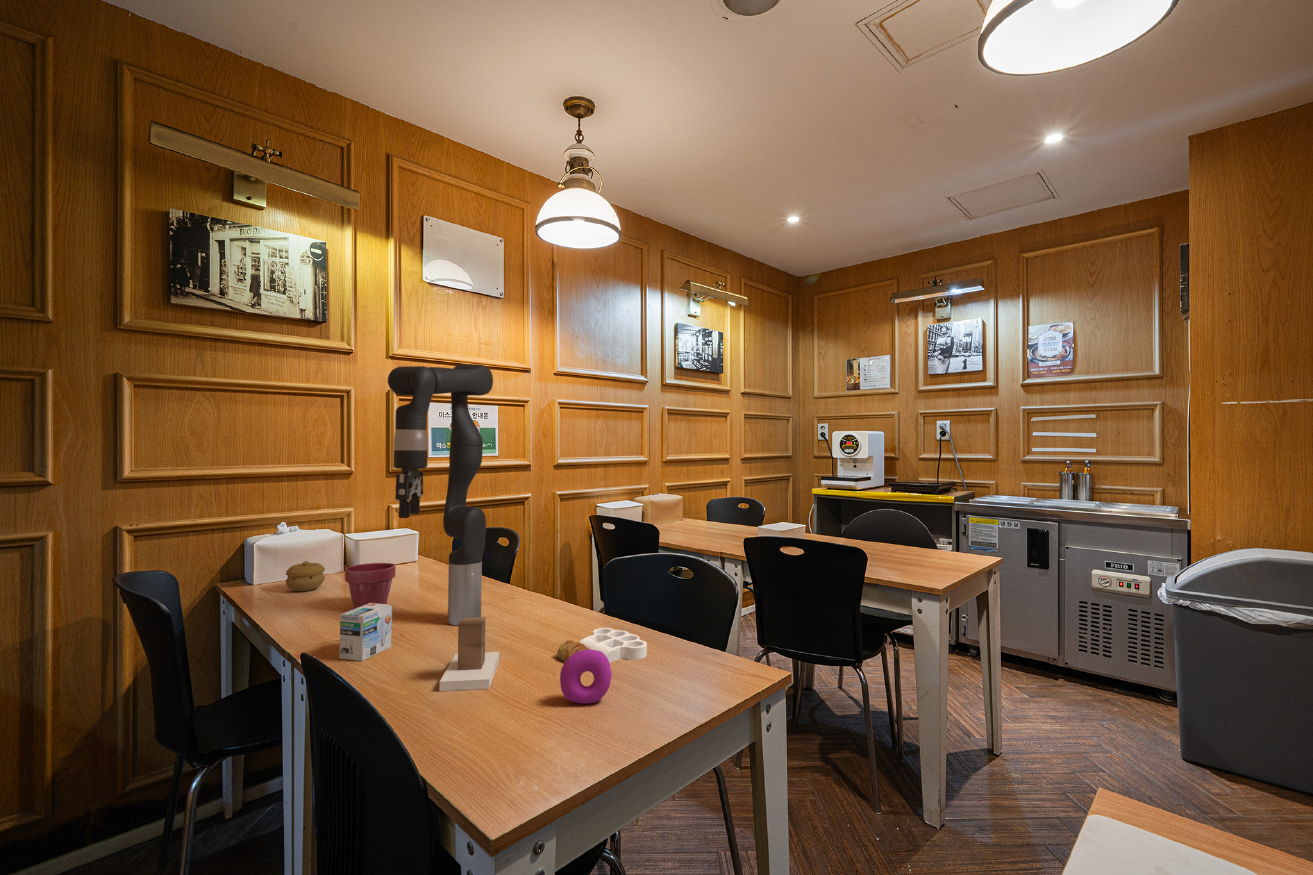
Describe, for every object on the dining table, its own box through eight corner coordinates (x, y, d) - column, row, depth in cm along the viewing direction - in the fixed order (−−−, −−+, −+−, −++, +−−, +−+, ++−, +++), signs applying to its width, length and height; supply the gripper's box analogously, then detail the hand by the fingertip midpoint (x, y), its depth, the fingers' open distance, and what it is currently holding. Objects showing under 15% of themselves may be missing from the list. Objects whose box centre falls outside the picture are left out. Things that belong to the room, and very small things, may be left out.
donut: (591, 714, 107) (591, 661, 108) (554, 702, 112) (555, 652, 112) (615, 698, 114) (616, 649, 114) (580, 688, 119) (580, 640, 119)
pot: (276, 593, 193) (277, 563, 193) (303, 585, 204) (304, 557, 204) (306, 595, 191) (307, 565, 191) (332, 586, 202) (332, 558, 202)
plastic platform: (455, 662, 133) (455, 653, 133) (499, 660, 134) (499, 651, 134) (439, 691, 117) (439, 681, 117) (489, 688, 118) (489, 679, 118)
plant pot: (364, 600, 185) (365, 561, 185) (404, 602, 183) (404, 562, 183) (333, 612, 171) (334, 570, 171) (376, 615, 169) (377, 572, 169)
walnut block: (462, 661, 128) (462, 617, 128) (484, 660, 128) (485, 616, 129) (457, 670, 123) (458, 624, 123) (481, 669, 123) (481, 623, 124)
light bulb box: (362, 661, 132) (363, 616, 132) (337, 659, 134) (338, 614, 134) (392, 646, 143) (393, 603, 143) (369, 644, 144) (370, 602, 144)
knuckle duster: (569, 649, 143) (614, 636, 153) (613, 669, 130) (659, 654, 140) (569, 635, 143) (614, 623, 153) (613, 655, 130) (659, 640, 140)
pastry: (600, 662, 134) (600, 645, 134) (577, 670, 129) (577, 653, 129) (575, 651, 141) (575, 636, 141) (553, 659, 136) (553, 643, 136)
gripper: (419, 448, 129) (417, 519, 129) (434, 448, 143) (433, 512, 143) (384, 448, 128) (383, 519, 128) (403, 448, 142) (402, 512, 142)
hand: (409, 515), depth 135 cm, fingers open, 8 cm apart
